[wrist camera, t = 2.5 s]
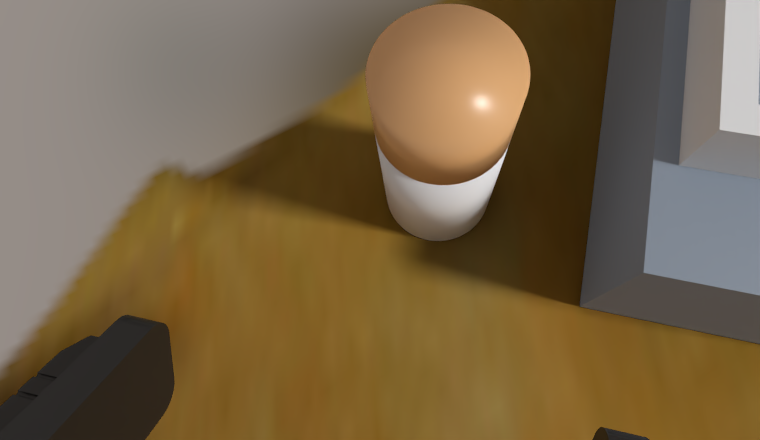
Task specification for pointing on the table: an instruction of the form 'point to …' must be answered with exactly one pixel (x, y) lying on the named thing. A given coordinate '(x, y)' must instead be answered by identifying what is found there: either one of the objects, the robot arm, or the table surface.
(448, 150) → the capped container
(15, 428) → the robot arm
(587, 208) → the table surface
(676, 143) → the grey box
